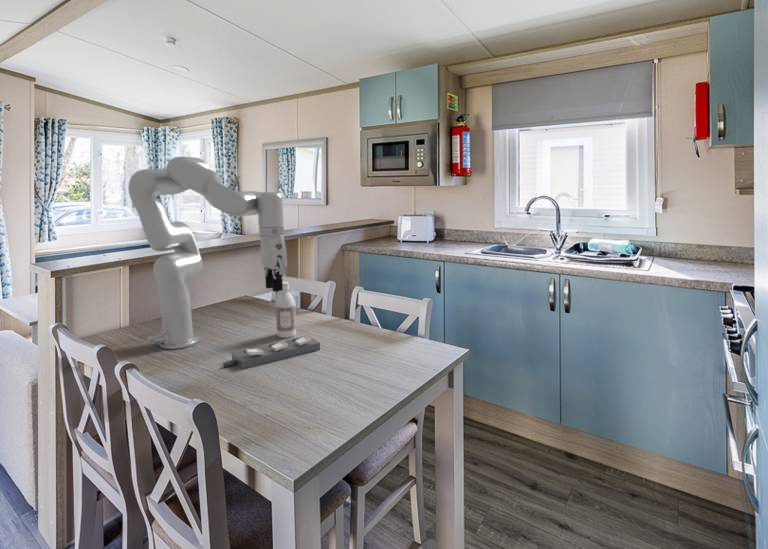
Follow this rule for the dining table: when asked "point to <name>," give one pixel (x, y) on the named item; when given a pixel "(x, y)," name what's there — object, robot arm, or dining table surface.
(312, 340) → the power strip
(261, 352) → the rocker left
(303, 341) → the rocker right
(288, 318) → the bath foam
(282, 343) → the rocker middle
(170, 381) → the dining table surface
